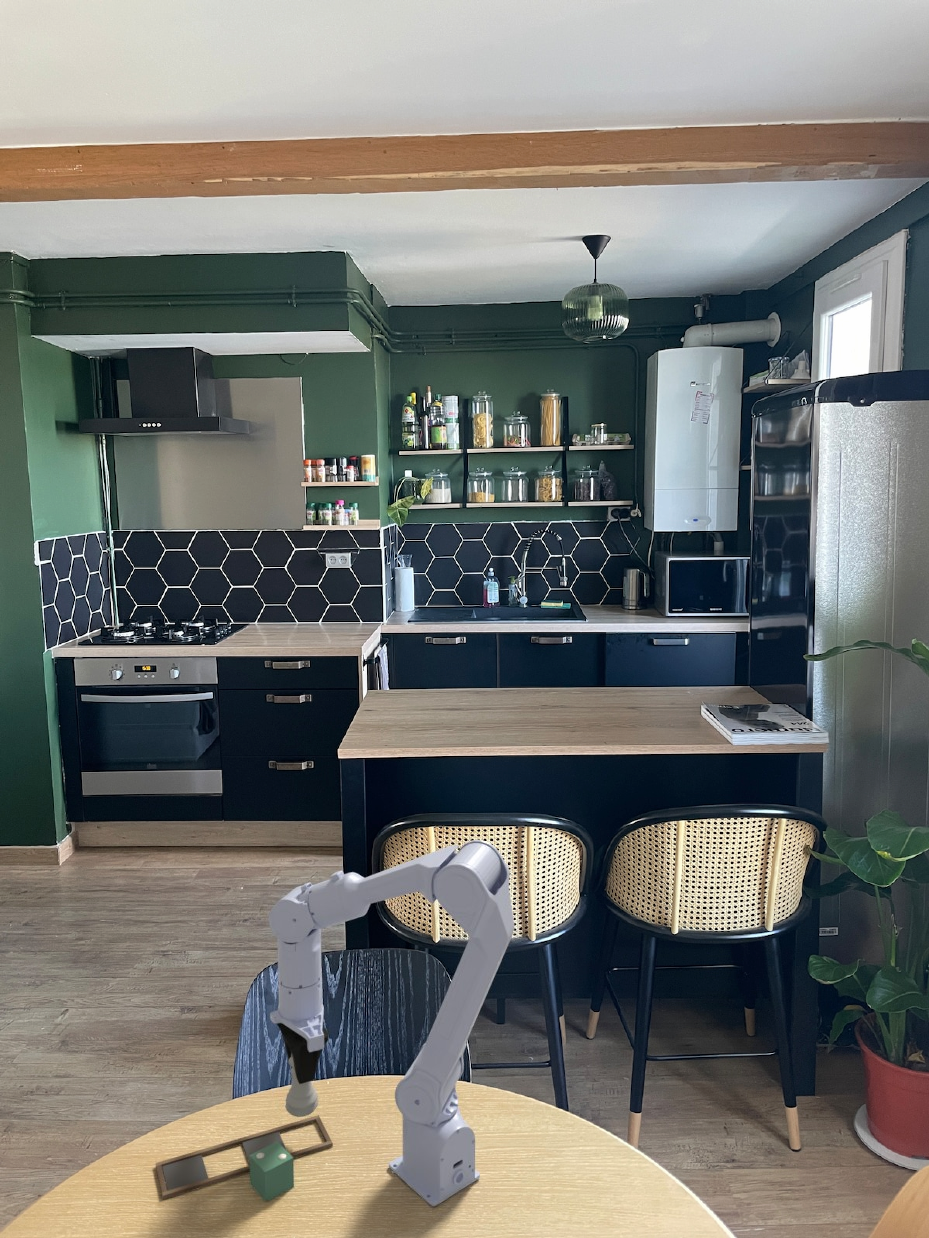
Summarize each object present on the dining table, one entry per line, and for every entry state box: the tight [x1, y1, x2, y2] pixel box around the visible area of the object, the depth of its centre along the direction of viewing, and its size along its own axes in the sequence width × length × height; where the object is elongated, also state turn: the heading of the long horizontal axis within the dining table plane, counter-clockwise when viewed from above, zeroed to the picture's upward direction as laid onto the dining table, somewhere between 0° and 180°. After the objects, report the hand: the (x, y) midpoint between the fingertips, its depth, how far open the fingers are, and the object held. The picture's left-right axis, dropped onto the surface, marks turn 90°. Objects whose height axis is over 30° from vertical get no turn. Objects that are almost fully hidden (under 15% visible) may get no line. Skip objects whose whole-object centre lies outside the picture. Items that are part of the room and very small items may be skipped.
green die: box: [249, 1141, 295, 1203], centre depth 116 cm, size 4×4×4 cm
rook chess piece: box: [284, 1053, 319, 1118], centre depth 124 cm, size 4×4×8 cm
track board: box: [155, 1114, 334, 1200], centre depth 122 cm, size 22×6×1 cm, turn 116°
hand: (301, 1072), depth 124 cm, fingers closed on rook chess piece, 3 cm apart
